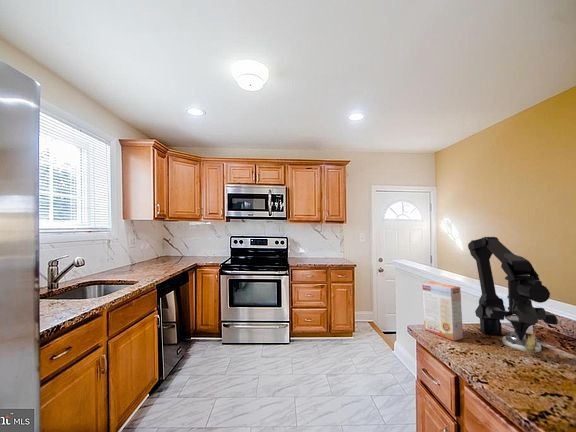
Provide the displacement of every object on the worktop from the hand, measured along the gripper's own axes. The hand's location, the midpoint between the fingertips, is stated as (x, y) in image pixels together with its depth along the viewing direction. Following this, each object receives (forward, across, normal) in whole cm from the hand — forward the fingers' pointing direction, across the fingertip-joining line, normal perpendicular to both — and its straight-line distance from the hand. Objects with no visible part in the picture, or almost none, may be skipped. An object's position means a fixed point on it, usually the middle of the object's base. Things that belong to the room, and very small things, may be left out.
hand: (520, 340), depth 95 cm
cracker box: (+6, -22, +12) cm, 26 cm away
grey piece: (+3, +3, +6) cm, 8 cm away
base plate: (+5, +3, +9) cm, 11 cm away
